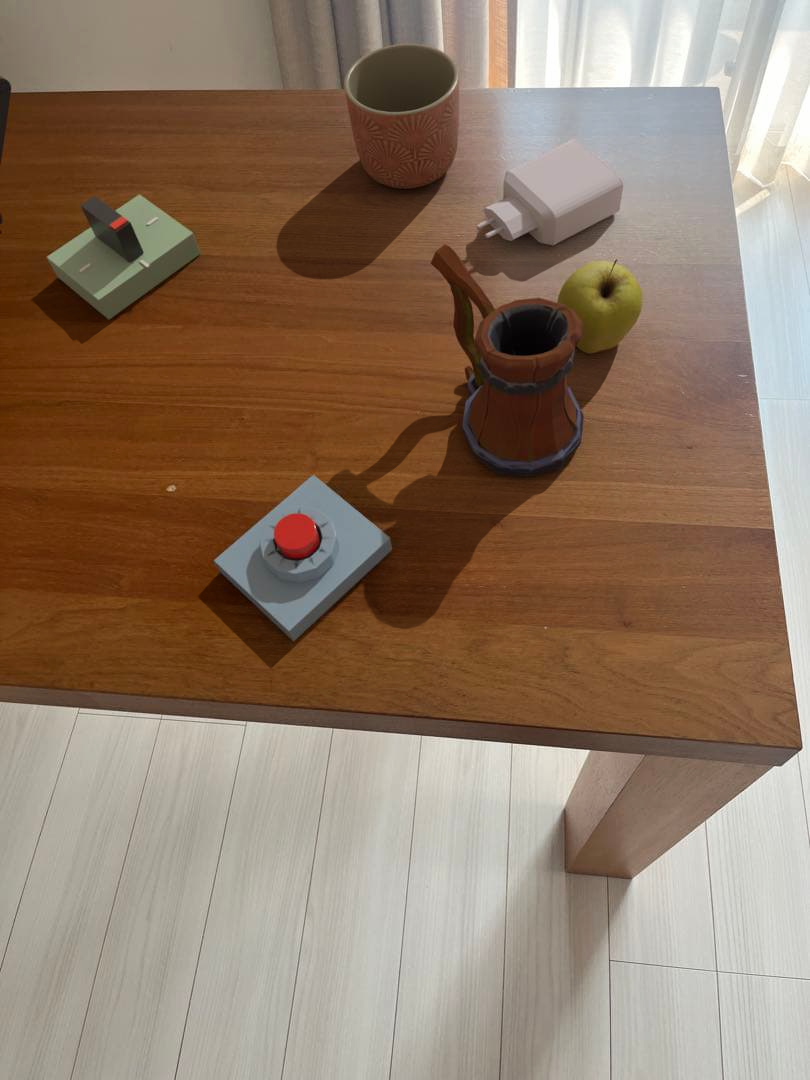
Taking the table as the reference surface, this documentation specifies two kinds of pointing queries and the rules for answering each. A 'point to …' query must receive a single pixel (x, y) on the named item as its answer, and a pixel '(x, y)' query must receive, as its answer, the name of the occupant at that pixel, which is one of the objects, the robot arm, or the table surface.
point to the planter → (404, 113)
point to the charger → (555, 195)
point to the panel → (112, 276)
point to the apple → (602, 303)
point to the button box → (304, 559)
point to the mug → (515, 376)
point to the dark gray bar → (112, 229)
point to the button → (296, 536)
